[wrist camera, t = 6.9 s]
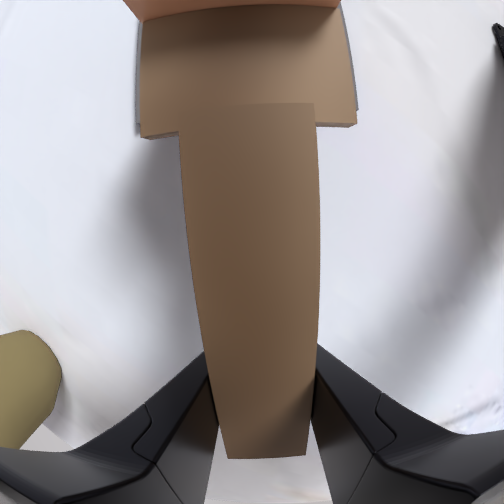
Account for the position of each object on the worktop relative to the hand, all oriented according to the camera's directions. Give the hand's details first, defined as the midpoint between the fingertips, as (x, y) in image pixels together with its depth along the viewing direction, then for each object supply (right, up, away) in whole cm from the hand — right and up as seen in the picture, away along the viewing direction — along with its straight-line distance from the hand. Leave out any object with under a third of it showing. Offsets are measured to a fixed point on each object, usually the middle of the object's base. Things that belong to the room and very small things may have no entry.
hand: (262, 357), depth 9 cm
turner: (0, +4, 0) cm, 4 cm away
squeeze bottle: (-20, -6, +10) cm, 23 cm away
